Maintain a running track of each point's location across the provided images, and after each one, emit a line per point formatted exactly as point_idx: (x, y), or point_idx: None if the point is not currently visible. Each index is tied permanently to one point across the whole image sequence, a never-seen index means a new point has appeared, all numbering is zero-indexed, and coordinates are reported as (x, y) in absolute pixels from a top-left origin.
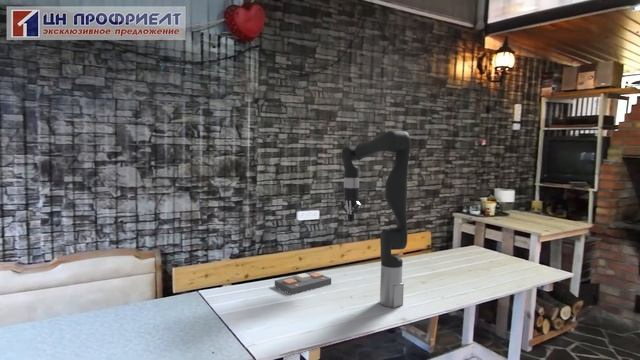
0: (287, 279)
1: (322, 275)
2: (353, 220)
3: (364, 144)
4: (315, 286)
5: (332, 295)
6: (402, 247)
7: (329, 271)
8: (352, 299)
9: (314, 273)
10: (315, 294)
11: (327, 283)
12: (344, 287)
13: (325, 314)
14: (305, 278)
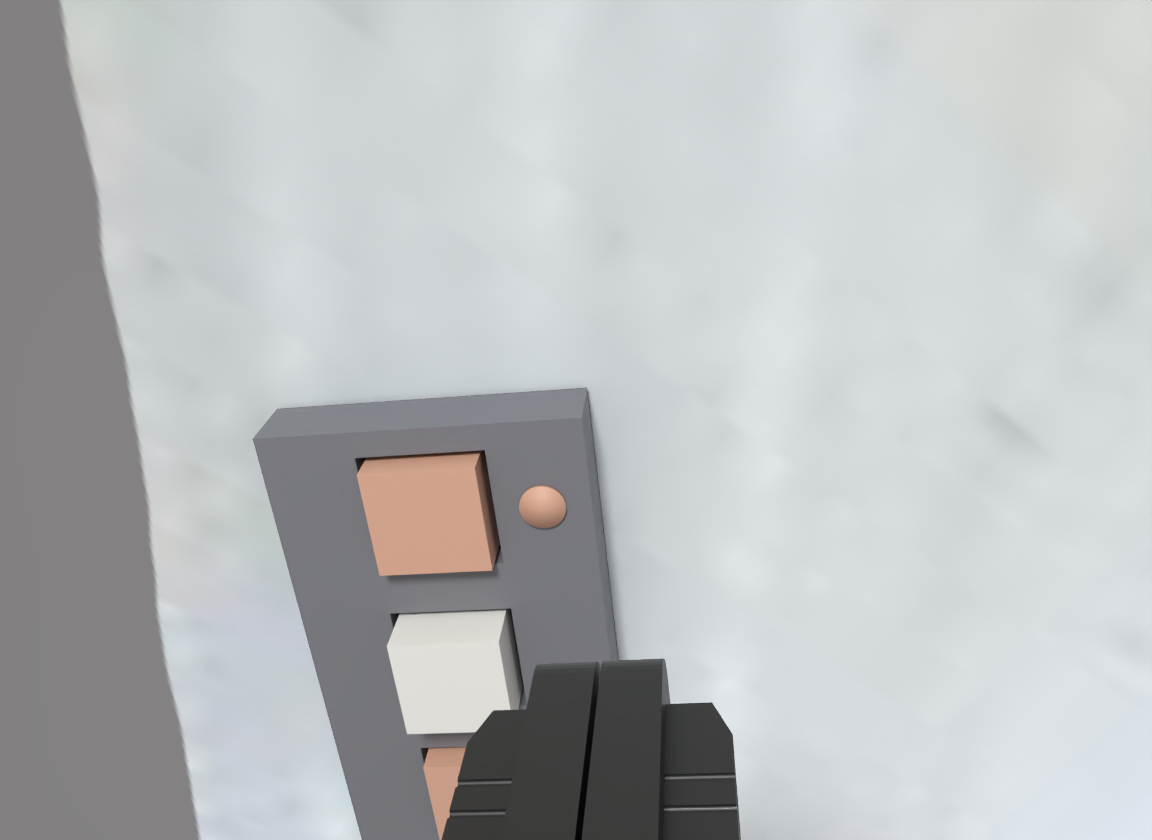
0: (441, 806)
1: (477, 473)
2: (713, 715)
3: None
4: (607, 592)
5: (855, 549)
6: None
7: (133, 107)
8: (1072, 461)
9: (387, 520)
10: (735, 650)
11: (591, 446)
12: (744, 316)
13: (1142, 807)
14: (511, 687)
